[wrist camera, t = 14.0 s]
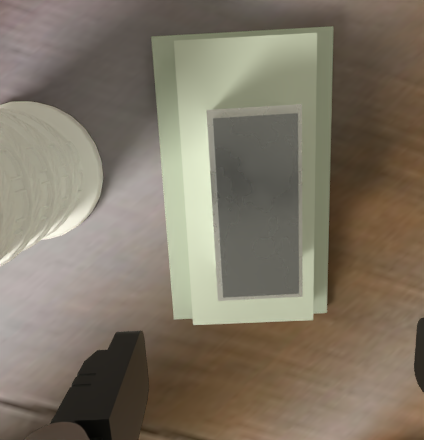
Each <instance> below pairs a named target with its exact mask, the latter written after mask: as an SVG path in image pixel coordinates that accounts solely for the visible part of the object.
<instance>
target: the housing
mask: <svg viewBox="0 0 424 440" xmlns="http://www.w3.org/2000/svg"><path fill="white" fill-rule="evenodd" d="M206 111H207V127H208V144H209V161H210V177H211V194H212V210H213V227H214V244H215V260H216V277H217V293H218V301H227V300H247V299H266V298H286V297H303V273H302V104H296V105H279V106H263V107H247V108H231V109H215V110H206Z"/></svg>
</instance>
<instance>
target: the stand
mask: <svg viewBox="0 0 424 440" xmlns="http://www.w3.org/2000/svg"><path fill="white" fill-rule="evenodd" d="M333 27H334V26H330V27H312V28H294V29H276V30H259V31H241V32H223V33H205V34H188V35H170V36H152V37H151V42H152V54H153V67H154V79H155V91H156V104H157V116H158V128H159V141H160V153H161V165H162V178H163V190H164V203H165V215H166V227H167V240H168V252H169V264H170V277H171V289H172V301H173V314H174V319H193V325H206V324H231V323H255V322H279V321H303V320H313V314H314V313H327V284H328V242H329V199H330V156H331V113H332V70H333ZM296 104H302V273H303V297H286V298H266V299H247V300H227V301H218V293H217V277H216V260H215V244H214V227H213V210H212V194H211V177H210V161H209V144H208V127H207V111H206V110H215V109H231V108H247V107H263V106H279V105H296Z"/></svg>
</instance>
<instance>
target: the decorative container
mask: <svg viewBox="0 0 424 440" xmlns="http://www.w3.org/2000/svg"><path fill="white" fill-rule="evenodd" d="M102 184H103V170H102V161H101V158H100V155H99V152H98V150H97V147H96V144H95V143H94V141H93V140H92V138H91V137H90V135H89V134H88V132H87V131H86V129H85V128H84V127H83V126H82V125H81V124H80V123H78V122H77V121H76V120H75V119H74V118H73V117H72V116H71V115H69V114H67V113H65V112H63V111H61V110H60V109H58V108H56V107H53V106H50V105H46V104H42V103H38V102H31V101H19V102H8V103H5V104H2V105H0V266H2V265H4V264H6V263H7V262H9V261H10V260H12V259H14V258H15V257H16V256H17V255H18V254H19V253H20V252H21V251H24V250H27V249H29V248H30V247H31V246H33V245H35V244H37V243H38V242H39V241H40V240H41V239H50V238H54V237H57V236H61V235H64V234H65V233H67V232H69V231H70V230H72V229H74V228H75V227H77V226H78V225H80V224H81V223H82V222H83V221H84V220H85V219H86V218H87V217H88V216H89V215H90V214H91V212H92V211H93V210H94V208H95V206H96V204H97V202H98V200H99V198H100V195H101V189H102Z"/></svg>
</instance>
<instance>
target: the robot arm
mask: <svg viewBox="0 0 424 440" xmlns="http://www.w3.org/2000/svg"><path fill="white" fill-rule="evenodd" d="M414 371H415V376H416V380H417V382H418V385H419V387H420V388H421V390H422V391H423V392H424V318H421V319H420V320H419V322H418V325H417V335H416V349H415V362H414ZM148 391H149V379H148V369H147V359H146V350H145V340H144V334H143V332H142V331H128V332H116V334H115V335H114V338H113V340H112V342H111V344H110V346H109V348H108V350H97V351H96V352H95V353H94V354H93V355H91V356H90V357H89V358H88V359H87V360H86V361H84V363H83V365H82V367H81V369H80V370H79V372H78V374H77V377H76V378H75V379H74V381H73V383H72V387H70V388H69V390H68V392H67V394H66V396H65V398H64V399H63V401H62V403H61V405H60V407H59V408H58V410H57V412H56V414H55V416H54V417H53V419H52V421H51V423H50V424H49V425H46V426H44V427H41V428H39V429H37V430H36V431H34V432H32V433H31V434H29V435H28V436H27V437H26V438H25V439H24V440H138V438H139V434H140V430H141V426H142V422H143V417H144V413H145V409H146V405H147V400H148Z"/></svg>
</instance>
